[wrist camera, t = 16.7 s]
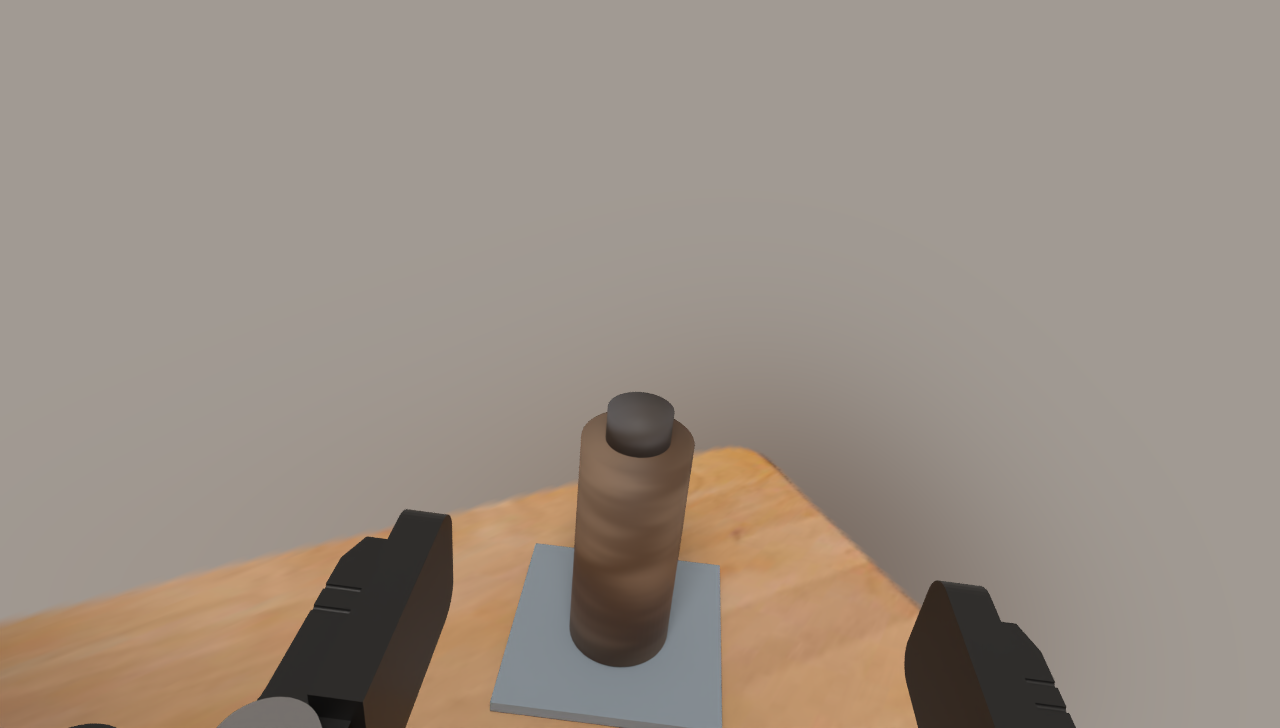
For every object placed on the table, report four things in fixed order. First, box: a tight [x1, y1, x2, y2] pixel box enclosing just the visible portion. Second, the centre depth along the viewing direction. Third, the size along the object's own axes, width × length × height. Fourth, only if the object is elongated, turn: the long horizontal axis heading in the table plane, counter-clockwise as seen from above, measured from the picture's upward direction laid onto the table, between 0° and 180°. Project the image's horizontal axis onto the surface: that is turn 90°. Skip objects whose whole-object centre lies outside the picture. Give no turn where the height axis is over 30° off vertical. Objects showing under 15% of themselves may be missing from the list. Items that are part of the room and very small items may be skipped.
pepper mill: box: [569, 392, 695, 667], centre depth 38 cm, size 5×5×14 cm
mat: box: [490, 543, 722, 728], centre depth 41 cm, size 11×11×1 cm
